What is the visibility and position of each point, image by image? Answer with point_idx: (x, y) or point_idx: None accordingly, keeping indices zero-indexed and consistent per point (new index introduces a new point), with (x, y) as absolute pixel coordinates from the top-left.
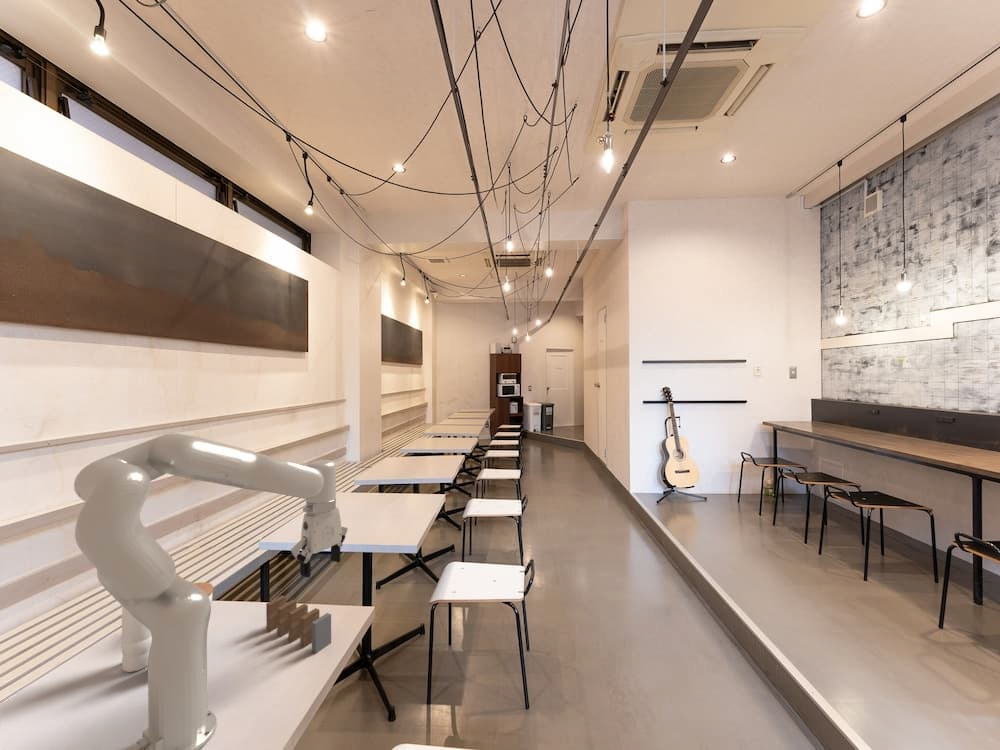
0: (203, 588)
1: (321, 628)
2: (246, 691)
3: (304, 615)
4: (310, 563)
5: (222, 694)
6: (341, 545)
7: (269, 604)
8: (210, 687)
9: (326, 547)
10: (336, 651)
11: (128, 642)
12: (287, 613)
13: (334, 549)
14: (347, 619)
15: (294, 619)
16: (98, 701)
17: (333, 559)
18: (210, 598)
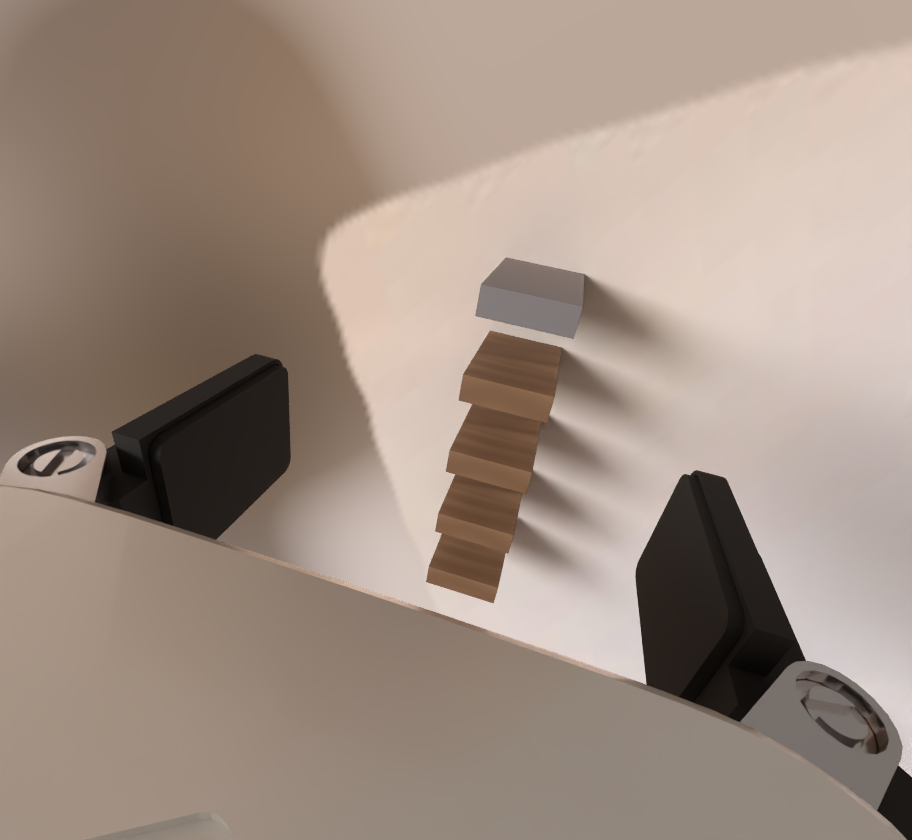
0: None
1: (549, 288)
2: (834, 388)
3: (526, 412)
4: (729, 599)
5: (850, 456)
6: (60, 452)
7: (495, 590)
8: (811, 513)
9: (398, 630)
10: (550, 190)
11: None
12: (488, 504)
13: (187, 501)
14: (358, 295)
15: (523, 452)
16: None
17: (279, 440)
18: None
